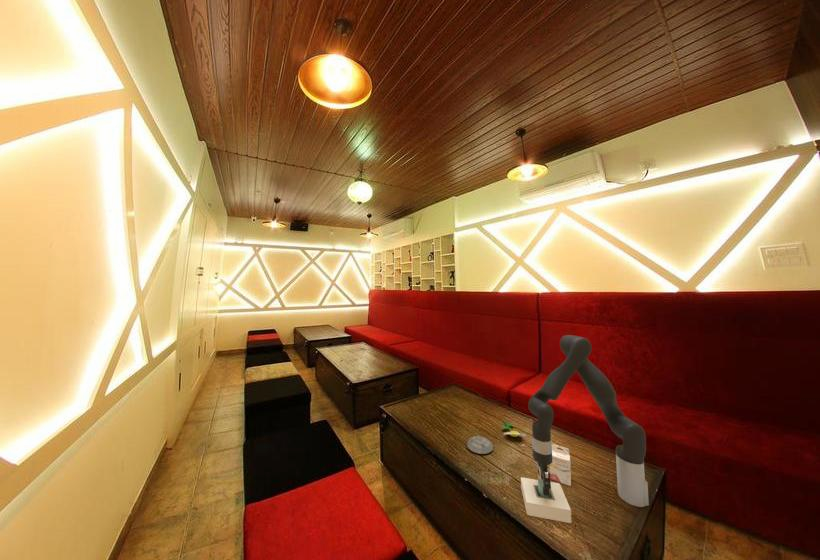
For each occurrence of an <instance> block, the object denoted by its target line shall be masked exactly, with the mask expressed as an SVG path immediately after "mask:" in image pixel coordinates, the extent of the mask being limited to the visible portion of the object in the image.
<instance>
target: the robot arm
mask: <svg viewBox="0 0 820 560" xmlns="http://www.w3.org/2000/svg"><path fill="white" fill-rule="evenodd" d="M559 347H560V350H561V352H562V353H563V355H565V357H566V358H565V360H564V361H563V362H562V363H561V364H560V365H559V366H558V367H556V368H555V369H554V370H553V371H551V372H550V373H549V374H548V376H547V377H546V379H545V381H544V383H543V384H542V386H541V387H540V388H539V389H538V390H536V392H535V393H534V394H533V395H532V396H531V397H530V398H529V401H528V405H527V408H528V410H529V412H530V413H531V414H532V415H534V416H536V418H537V420H534V421H533V422H532V424H531V426H532V427H531V428H532V429H531V430H532V433H531V434H532V438H531V445H532V446H531V448H532V449H531V450H532V459H533V460H534V461H535V462H536V463H535V465H536V469H537V474H538V473H539V472H540V478H541V479H542V485H543V494H544V496H549V489H551V482H552V480H551V479H550V464H551V463H552V444H553V443H552V437H551V436H552V434H551V429H552V426H553V423H554V419H555V418H554V417H555V415H554V414H555V413H554V410H553V407H552V406H551V405H550V404H549V403H548V402H549V401H557V400H558V399H559V398H560V395H561V394H562V392H563V390H564V388H565V387H566V385H567V384H568V382H569V381H570V380H571V377H573V376H574V374H575V373H576V372H577V374H578V375H579V377H580V378H581V380H582V382H583V384H584V385H585V388H587V391H589V394H590V395H591V397H592V398H593V400H594V401H595V403H596V404H597V405H598V407H599V409H600V410H601V412H602V413H603V415H604V417H605V419H606V422H607V424H608V426H609V428H610V430H611V431H612V432H613V434H614V435H615V436H617V438H619V439H621V440H622V444H619V445H617V446H616V447H615V460H616V461H615V463H616V465H615V467H616V483H617V495H618V496H619V498H620V499H622V500H623V501H624V502H626V503H627V504H629V505H631V506H634V507H639V508H643V507H649V505H650V504H649V503H650V501H649V485H648V481H647V480H646V478H645V477H646V476H645V460H644V459H645V457H646V453H647V436H646V431H645V430H644V427H642V426H641V425H639V424H638V423H636V422H635V421H633V420H632V419H630V418H628V417H627V416H626V415H625V414H624V412H623V411H622V410H621V408H620V406H619V405H618V402H617V392H616V390H615V389H614V386H613V385H612V383H611V381H610V379H608V377H607V376H606V375H605V374H604V372H603V371H601V370H600V369H599V368H598V367H597V366H596V365H594V364H593V362H591V361H590V360H589V356H590V355H591V353H592V343H591V341H590V340H588V338H586V337H582V336H578V335H572V334H571V335H570V334H567V335H563V336H561V338H560V340H559ZM542 475H543V476H542ZM546 482H547V483H546Z"/></svg>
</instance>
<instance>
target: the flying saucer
mask: <svg viewBox="0 0 820 560" xmlns="http://www.w3.org/2000/svg"><path fill="white" fill-rule="evenodd" d="M466 447H467V448H468V449H469V450H470V451H471V452H473V453H475V454H479V455H486V454H489V453H491V452H492V451H493V450H494V445H493V443H492V441H491V440H489V439H488V438H486V437H483V436H479V435H475V436H472V437H470V438H469V439H467V441H466Z"/></svg>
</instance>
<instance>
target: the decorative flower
mask: <svg viewBox="0 0 820 560" xmlns="http://www.w3.org/2000/svg"><path fill="white" fill-rule="evenodd" d="M501 420H502V422H503V423H504V424H505V425H503V426H501V428H502V429H504V430H506V429H509V430H510V431H507V432H503V435H505V436H506V435H509V436H511V437H514V438H517V437H519V436H520V437H521V438H523V437H527V435H526V434H524V433H520V432H518V431H517V430H512V428H511V427H515V424H512V423H507V422H506V421H505V420H504V419H503V418H501Z"/></svg>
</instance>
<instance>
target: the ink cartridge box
mask: <svg viewBox="0 0 820 560" xmlns="http://www.w3.org/2000/svg"><path fill="white" fill-rule="evenodd" d="M571 471H572V470H571V455H570V449H569V448H567V447H565V446H561V445H557V444H554V443H552V463H551V464H549V473H550V481H553V482H556V483H561V484H564V485H566V486H569V487H572V479H571V478H572V476H571V474H572V472H571Z"/></svg>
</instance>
